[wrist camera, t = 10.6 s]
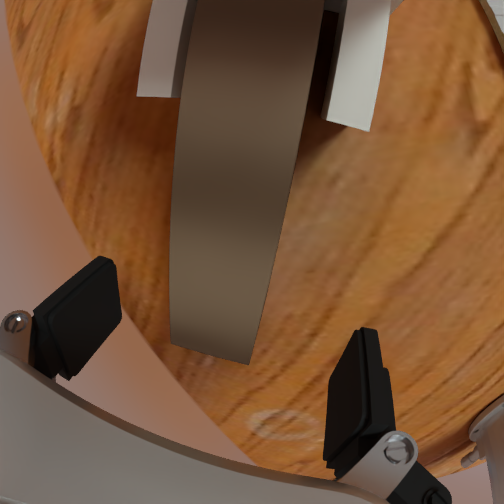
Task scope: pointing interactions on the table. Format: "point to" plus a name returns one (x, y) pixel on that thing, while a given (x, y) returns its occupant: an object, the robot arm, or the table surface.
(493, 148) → the table surface
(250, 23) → the rail
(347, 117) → the white forked bracket
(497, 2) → the baseboard molding
